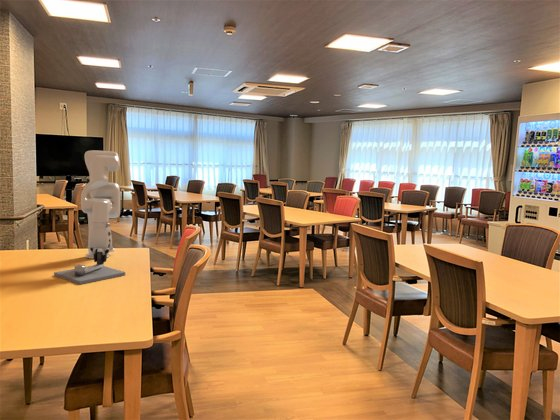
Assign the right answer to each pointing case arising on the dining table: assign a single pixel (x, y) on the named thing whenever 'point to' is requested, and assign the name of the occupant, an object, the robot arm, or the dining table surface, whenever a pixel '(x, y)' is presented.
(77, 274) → the swing lever
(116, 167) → the robot arm
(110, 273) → the board
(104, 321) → the dining table surface
